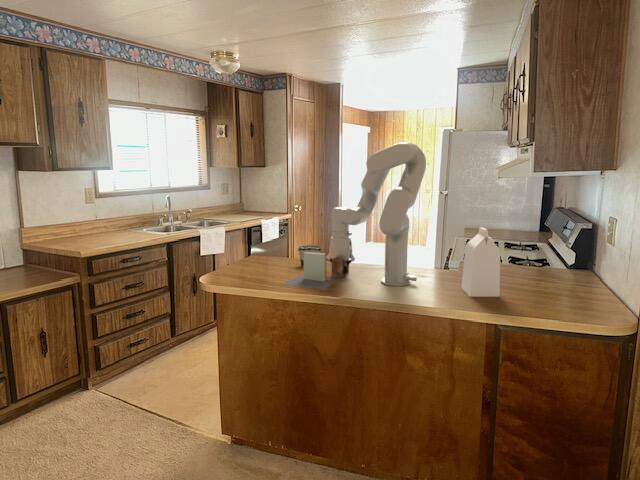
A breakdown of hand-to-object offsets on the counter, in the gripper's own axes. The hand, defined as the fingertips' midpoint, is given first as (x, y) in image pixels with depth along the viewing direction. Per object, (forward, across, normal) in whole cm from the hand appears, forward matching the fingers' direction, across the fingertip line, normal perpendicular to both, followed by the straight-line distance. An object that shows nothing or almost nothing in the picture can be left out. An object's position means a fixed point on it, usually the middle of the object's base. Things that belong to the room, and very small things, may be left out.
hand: (340, 273), depth 208 cm
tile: (+1, +8, +11) cm, 14 cm away
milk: (+2, -61, +2) cm, 61 cm away
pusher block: (+2, 0, 0) cm, 2 cm away
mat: (+2, +8, +16) cm, 17 cm away
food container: (+2, +22, -15) cm, 27 cm away
